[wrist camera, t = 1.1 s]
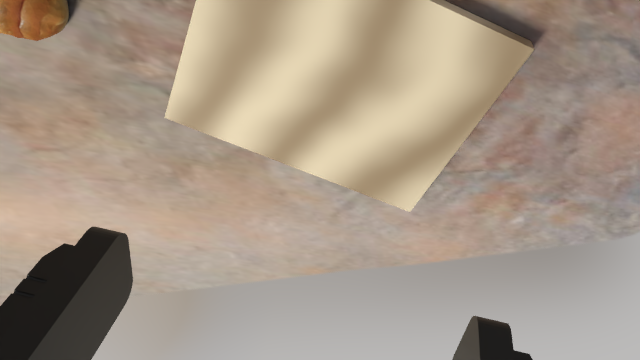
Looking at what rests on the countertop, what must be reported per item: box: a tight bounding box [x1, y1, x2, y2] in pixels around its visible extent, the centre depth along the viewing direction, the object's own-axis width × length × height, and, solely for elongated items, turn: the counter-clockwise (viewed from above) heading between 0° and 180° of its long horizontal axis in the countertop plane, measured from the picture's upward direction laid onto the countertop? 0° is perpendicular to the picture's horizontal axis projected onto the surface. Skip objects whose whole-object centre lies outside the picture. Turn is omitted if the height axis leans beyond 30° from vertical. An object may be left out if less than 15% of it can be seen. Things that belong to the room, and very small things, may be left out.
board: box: [165, 0, 534, 212], centre depth 33 cm, size 18×14×1 cm
